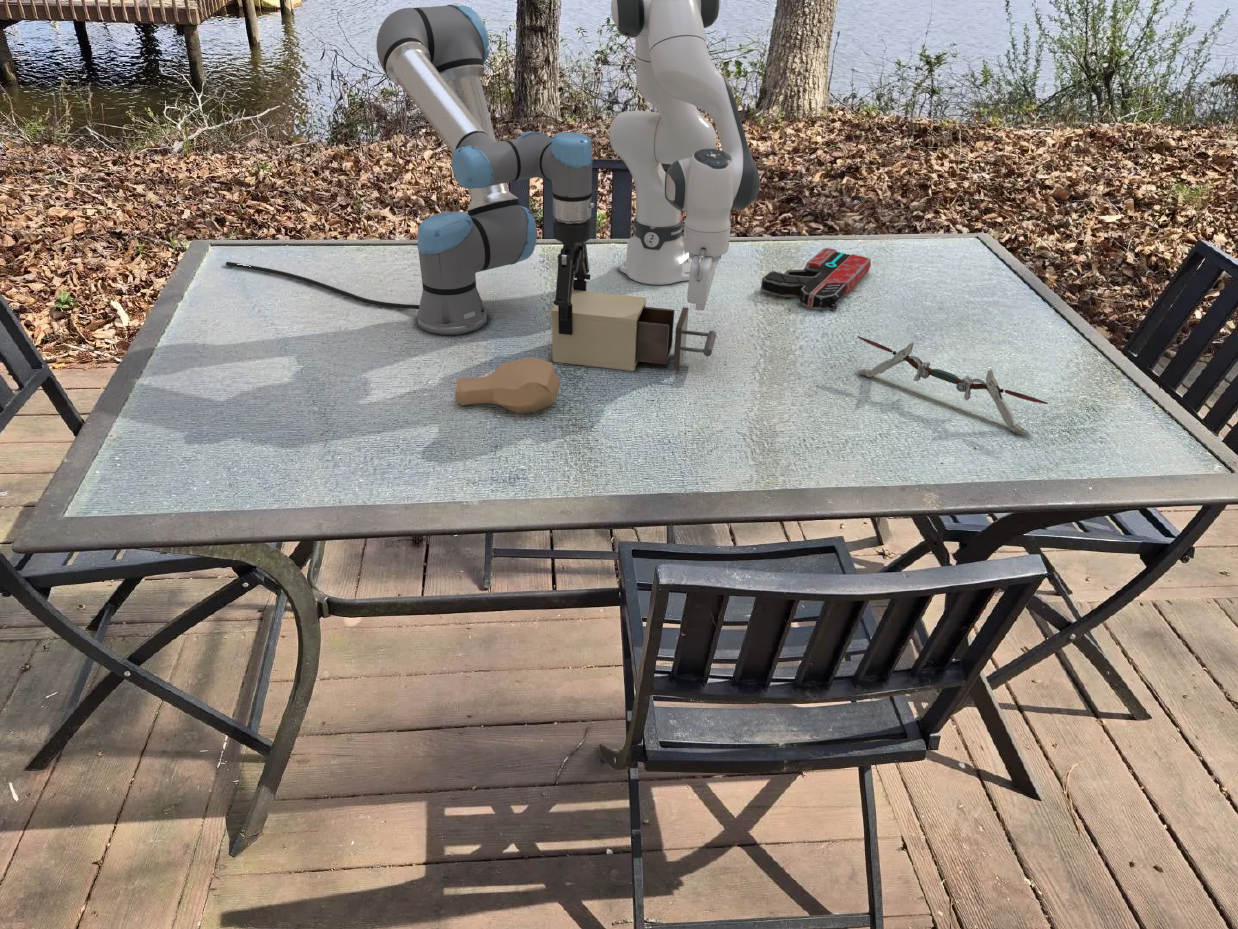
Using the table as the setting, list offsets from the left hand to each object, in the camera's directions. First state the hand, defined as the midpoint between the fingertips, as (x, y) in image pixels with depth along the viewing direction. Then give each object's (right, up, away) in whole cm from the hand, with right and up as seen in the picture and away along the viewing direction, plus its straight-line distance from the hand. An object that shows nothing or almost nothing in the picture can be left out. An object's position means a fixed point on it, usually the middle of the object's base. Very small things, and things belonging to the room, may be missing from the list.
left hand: (572, 321), depth 182 cm
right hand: (+26, +2, -7) cm, 27 cm away
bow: (+72, -18, -11) cm, 75 cm away
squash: (-11, -18, -16) cm, 27 cm away
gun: (+59, +15, +38) cm, 72 cm away
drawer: (+18, -7, +1) cm, 19 cm away
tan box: (+5, -6, +3) cm, 9 cm away
